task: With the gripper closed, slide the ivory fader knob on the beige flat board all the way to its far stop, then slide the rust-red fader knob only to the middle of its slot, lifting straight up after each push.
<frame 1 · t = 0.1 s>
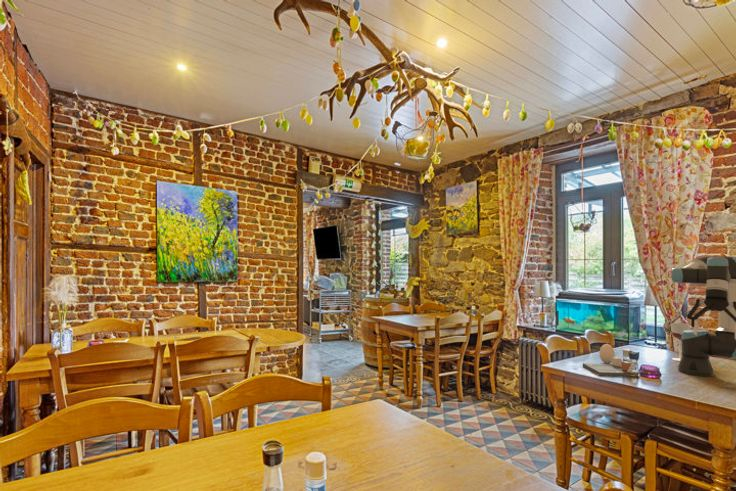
hand: (715, 337, 174), 28 cm above the table, tool tilted 20°, fingers open, 13 cm apart
egg: (607, 363, 233), on the table
wineglass: (680, 360, 244), on the table
fader b: (626, 366, 212), point 4 cm above the table, slide at 0.0 cm
fader a: (616, 361, 221), point 4 cm above the table, slide at 0.0 cm
beige flat board: (609, 371, 217), on the table
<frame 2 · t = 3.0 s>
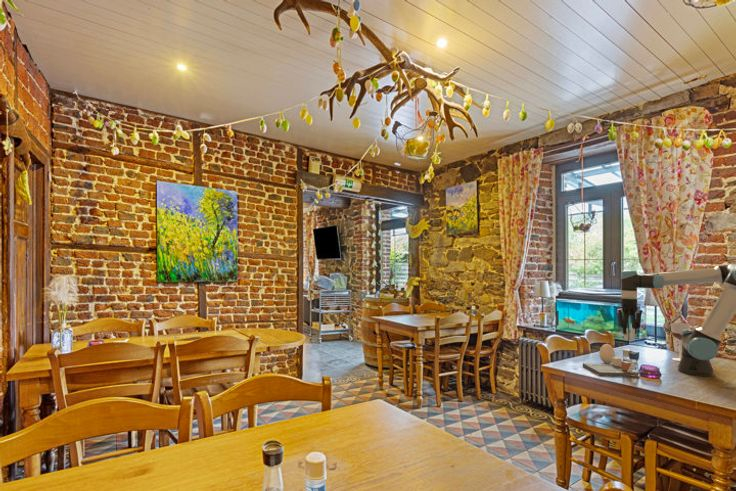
hand: (629, 340, 221), 17 cm above the table, tool pointing down, fingers open, 3 cm apart
nothing on the table moved.
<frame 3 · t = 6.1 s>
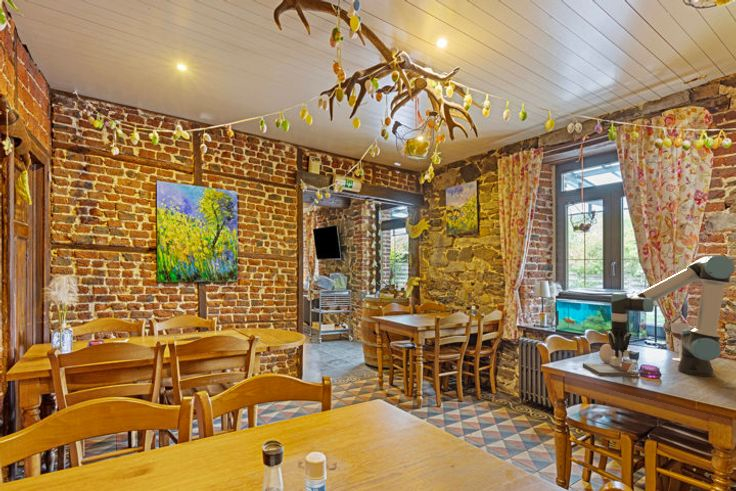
hand: (619, 362, 221), 4 cm above the table, tool pointing down, fingers closed
fader a: (615, 361, 221), point 4 cm above the table, slide at 0.9 cm, touching gripper
everything else where it was.
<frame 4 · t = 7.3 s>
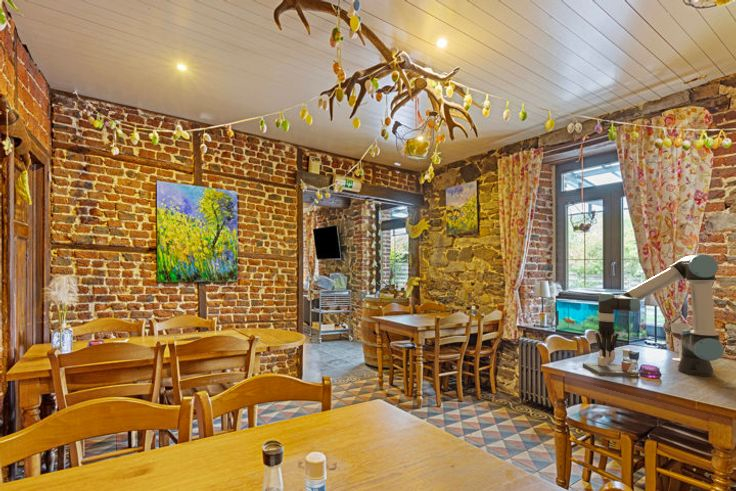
hand: (606, 362, 222), 4 cm above the table, tool pointing down, fingers closed
fader a: (602, 361, 222), point 4 cm above the table, slide at 7.9 cm, touching gripper
everything else where it was.
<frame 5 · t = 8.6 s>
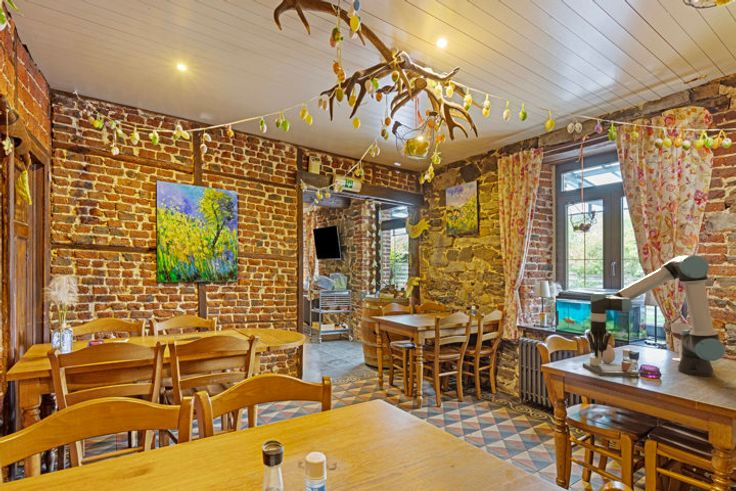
hand: (598, 362, 222), 3 cm above the table, tool pointing down, fingers closed
fader a: (594, 361, 222), point 4 cm above the table, slide at 12.2 cm, touching gripper
everything else where it was.
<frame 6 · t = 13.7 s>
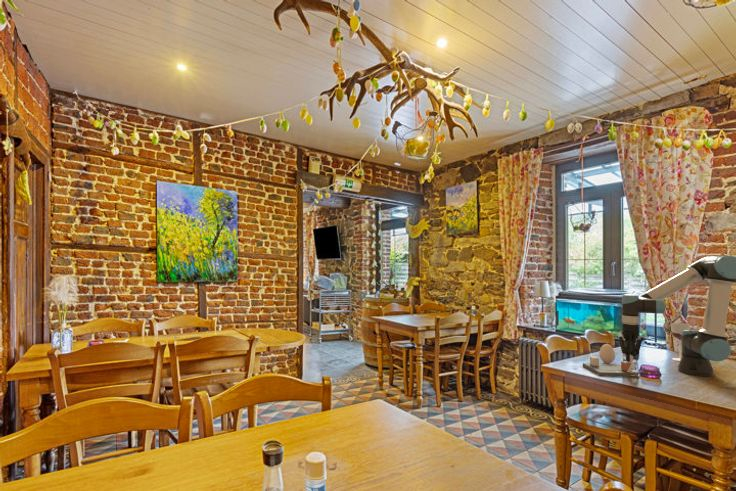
hand: (630, 367, 212), 4 cm above the table, tool pointing down, fingers closed
fader b: (626, 366, 212), point 4 cm above the table, slide at 0.2 cm, touching gripper
fader a: (594, 361, 222), point 4 cm above the table, slide at 12.2 cm
everything else where it was.
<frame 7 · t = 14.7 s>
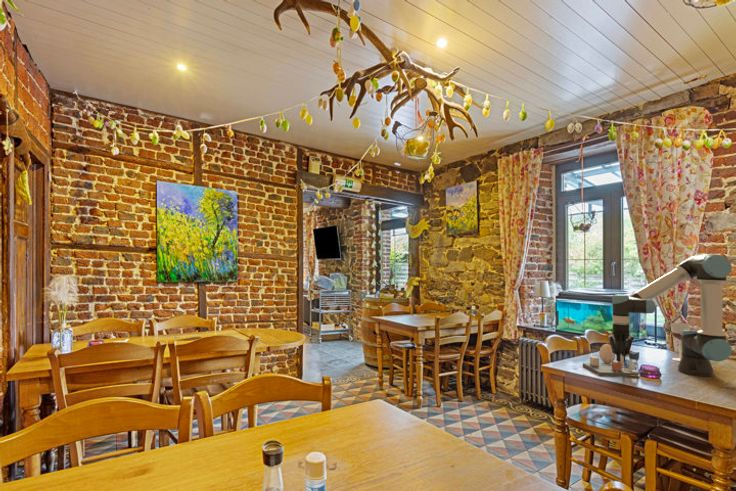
hand: (620, 367, 212), 4 cm above the table, tool pointing down, fingers closed
fader b: (616, 365, 212), point 4 cm above the table, slide at 5.2 cm, touching gripper
everything else where it was.
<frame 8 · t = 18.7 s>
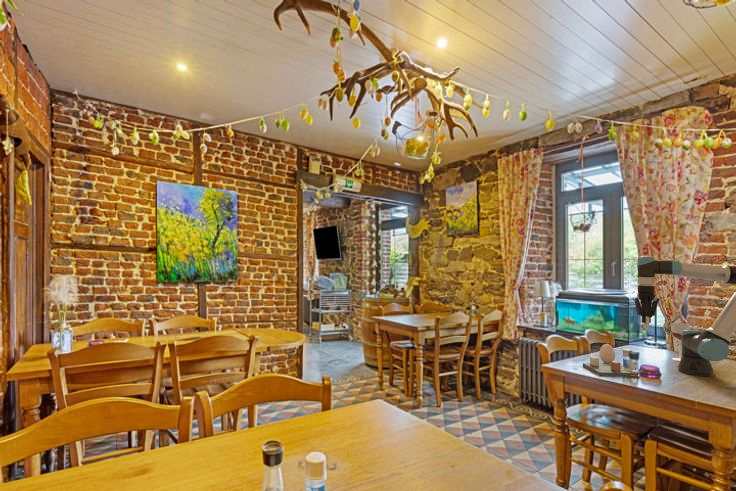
hand: (646, 328, 212), 24 cm above the table, tool pointing down, fingers closed
fader b: (615, 365, 212), point 4 cm above the table, slide at 5.7 cm
everything else where it was.
at the end: fader a slide at 12.2 cm; fader b slide at 5.7 cm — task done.
